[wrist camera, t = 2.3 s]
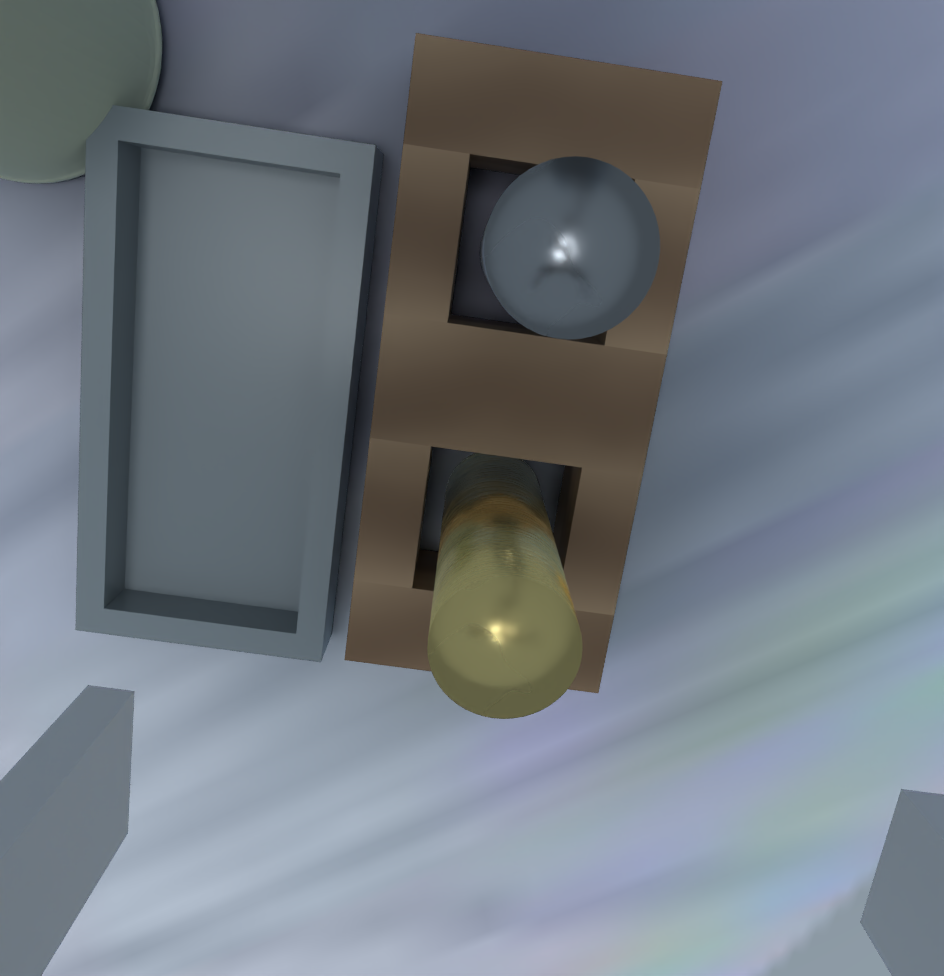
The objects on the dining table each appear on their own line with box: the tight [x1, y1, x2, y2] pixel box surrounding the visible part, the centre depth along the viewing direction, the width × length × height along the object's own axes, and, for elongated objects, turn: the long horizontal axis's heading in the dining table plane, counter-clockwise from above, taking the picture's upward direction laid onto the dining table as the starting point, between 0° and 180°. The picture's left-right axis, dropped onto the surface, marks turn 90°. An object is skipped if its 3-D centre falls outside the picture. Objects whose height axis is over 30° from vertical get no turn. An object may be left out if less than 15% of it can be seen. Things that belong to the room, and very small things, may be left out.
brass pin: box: [427, 453, 583, 719], centre depth 26 cm, size 4×4×13 cm
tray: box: [76, 105, 384, 662], centre depth 30 cm, size 18×9×2 cm, turn 172°
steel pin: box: [480, 156, 660, 340], centre depth 24 cm, size 4×4×13 cm
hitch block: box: [345, 33, 722, 693], centre depth 29 cm, size 20×9×4 cm, turn 172°
